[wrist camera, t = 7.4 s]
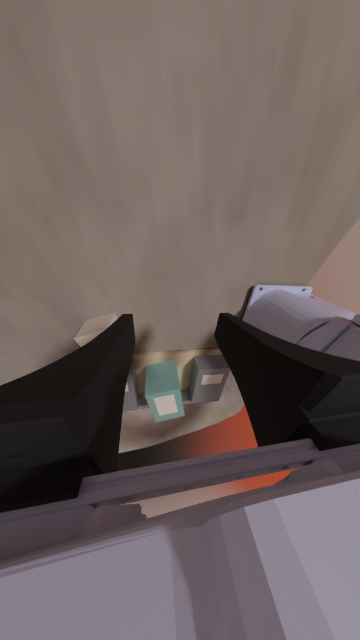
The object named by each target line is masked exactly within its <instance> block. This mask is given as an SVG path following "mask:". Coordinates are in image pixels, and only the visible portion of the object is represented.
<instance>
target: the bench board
mask: <svg viewBox="0 0 360 640" xmlns="http://www.w3.org/2000/svg"><path fill="white" fill-rule="evenodd" d="M210 355H222V353H221V351H220V349H199V350H178V351H157V352H137V353H133V357H132V360H135V365H136V373H137V382H138V390H139V394H143V393H145V383H146V365H151V364H156V363H161V362H166V361H172V360H175V361H176V367H177V372H178V378H179V383H180V389H181V390H187V389H189V383H190V377H191V371H192V365H193V359H194V356H210Z"/></svg>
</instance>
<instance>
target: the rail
mask: <svg viewBox="0 0 360 640" xmlns="http://www.w3.org/2000/svg"><path fill="white" fill-rule="evenodd" d="M181 395H182V401H183V404H190V403H191V399H190V394H189V390H188V389H187V390H181ZM144 408H150V407H149V405H148V402H147V400H146V398H145V393H143V394H139V399H138V409H144Z"/></svg>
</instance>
